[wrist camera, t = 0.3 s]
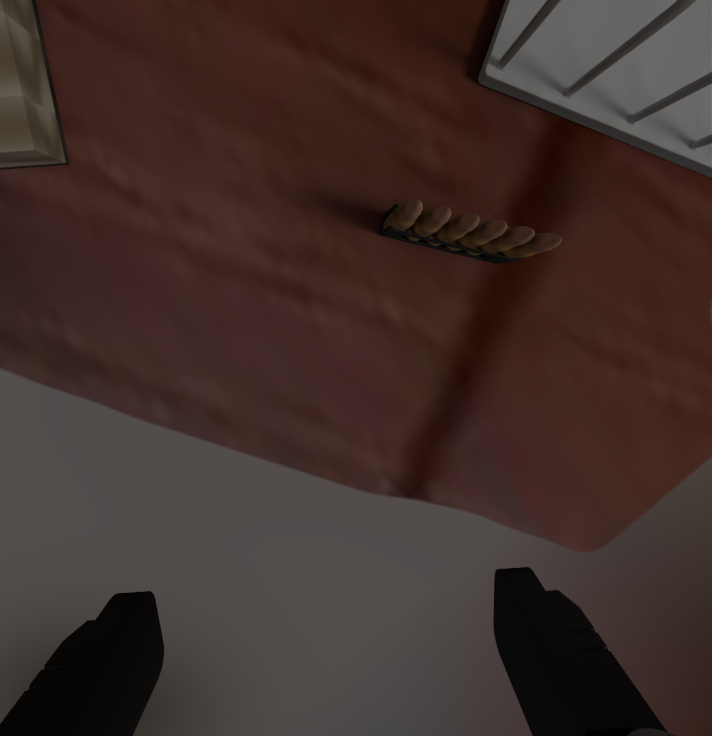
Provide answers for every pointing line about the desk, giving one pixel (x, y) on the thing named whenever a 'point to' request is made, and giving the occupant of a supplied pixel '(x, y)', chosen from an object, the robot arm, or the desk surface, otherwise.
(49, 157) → the socket block
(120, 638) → the robot arm
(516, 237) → the ammunition clip
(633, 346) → the desk surface
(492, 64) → the file sorter
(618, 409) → the desk surface
